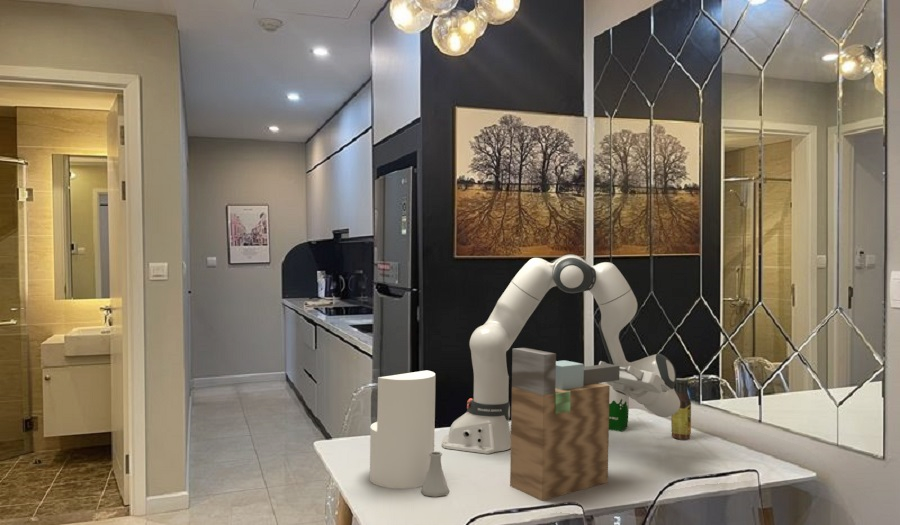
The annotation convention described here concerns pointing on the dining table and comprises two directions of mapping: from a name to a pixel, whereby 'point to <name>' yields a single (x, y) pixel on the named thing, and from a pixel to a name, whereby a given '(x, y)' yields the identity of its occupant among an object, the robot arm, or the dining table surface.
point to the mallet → (583, 374)
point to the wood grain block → (555, 429)
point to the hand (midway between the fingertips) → (613, 365)
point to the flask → (435, 477)
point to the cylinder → (403, 430)
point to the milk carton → (618, 410)
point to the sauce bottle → (682, 412)
